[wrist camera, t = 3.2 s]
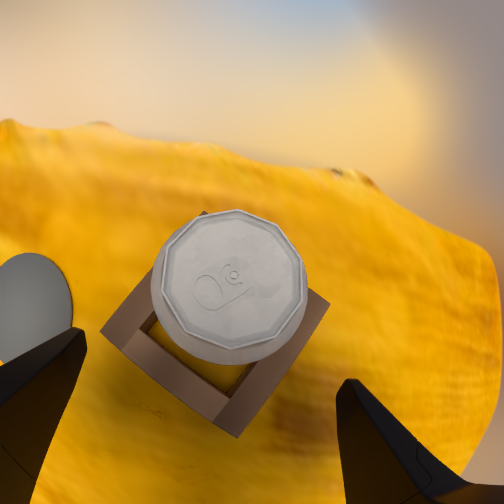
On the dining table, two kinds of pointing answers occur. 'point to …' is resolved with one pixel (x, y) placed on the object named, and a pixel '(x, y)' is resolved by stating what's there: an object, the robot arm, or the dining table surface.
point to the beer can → (229, 287)
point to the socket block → (192, 384)
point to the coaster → (31, 304)
